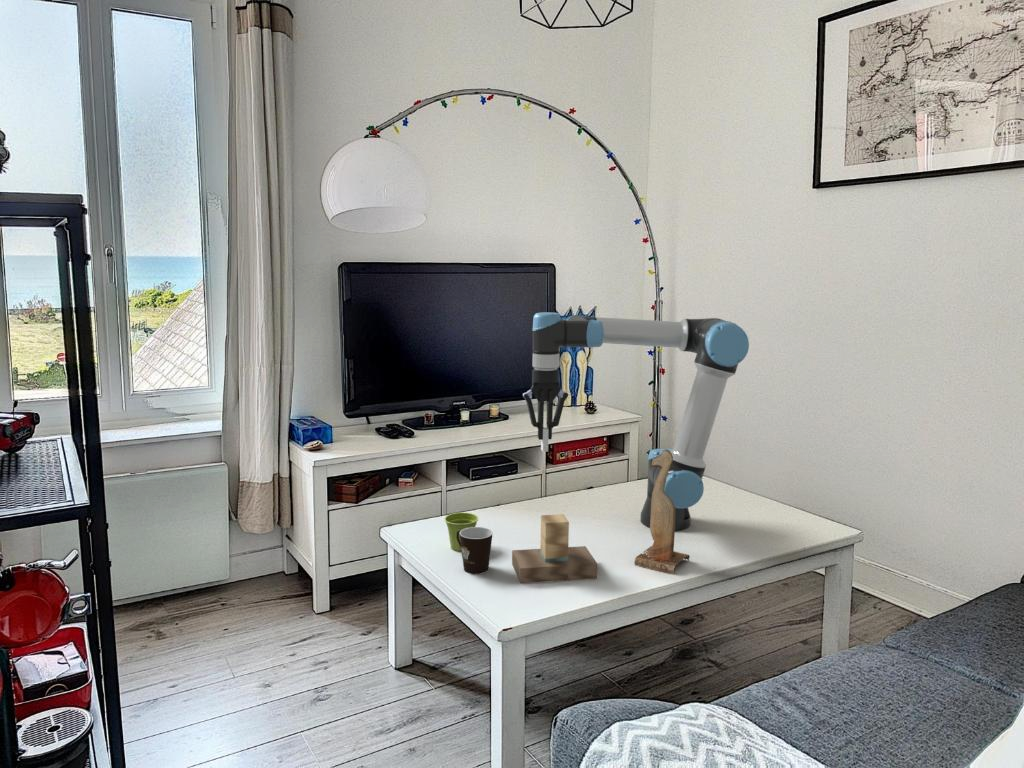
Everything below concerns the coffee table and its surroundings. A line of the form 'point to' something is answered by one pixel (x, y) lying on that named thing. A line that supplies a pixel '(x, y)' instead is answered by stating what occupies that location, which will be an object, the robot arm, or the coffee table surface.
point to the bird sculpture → (661, 523)
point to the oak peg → (554, 538)
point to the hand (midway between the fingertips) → (544, 450)
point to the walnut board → (554, 566)
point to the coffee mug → (475, 549)
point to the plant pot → (459, 526)
